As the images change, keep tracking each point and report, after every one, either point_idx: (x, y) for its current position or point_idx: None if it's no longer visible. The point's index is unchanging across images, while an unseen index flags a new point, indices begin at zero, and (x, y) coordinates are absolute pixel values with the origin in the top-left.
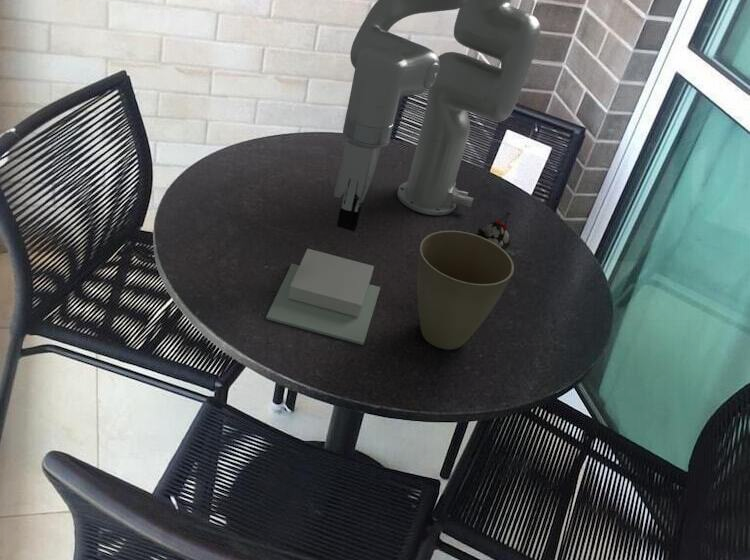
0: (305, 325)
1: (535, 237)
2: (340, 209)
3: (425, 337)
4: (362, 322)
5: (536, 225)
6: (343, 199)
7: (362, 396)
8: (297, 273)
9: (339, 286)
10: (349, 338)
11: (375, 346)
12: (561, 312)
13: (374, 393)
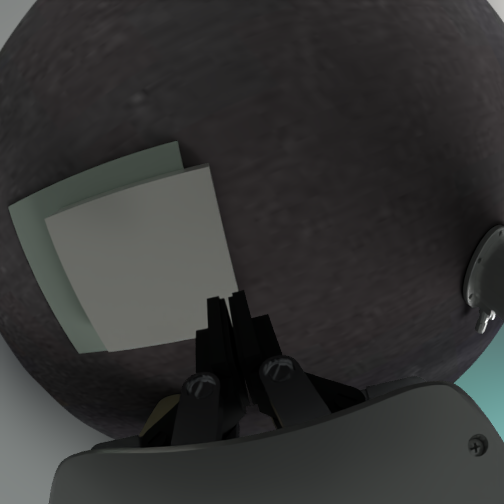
0: (36, 271)
1: (437, 380)
2: (210, 352)
3: (157, 404)
4: None
5: (456, 369)
6: (175, 431)
7: (26, 367)
8: (89, 205)
9: (121, 302)
10: (68, 336)
11: (92, 362)
12: None
13: (38, 375)
